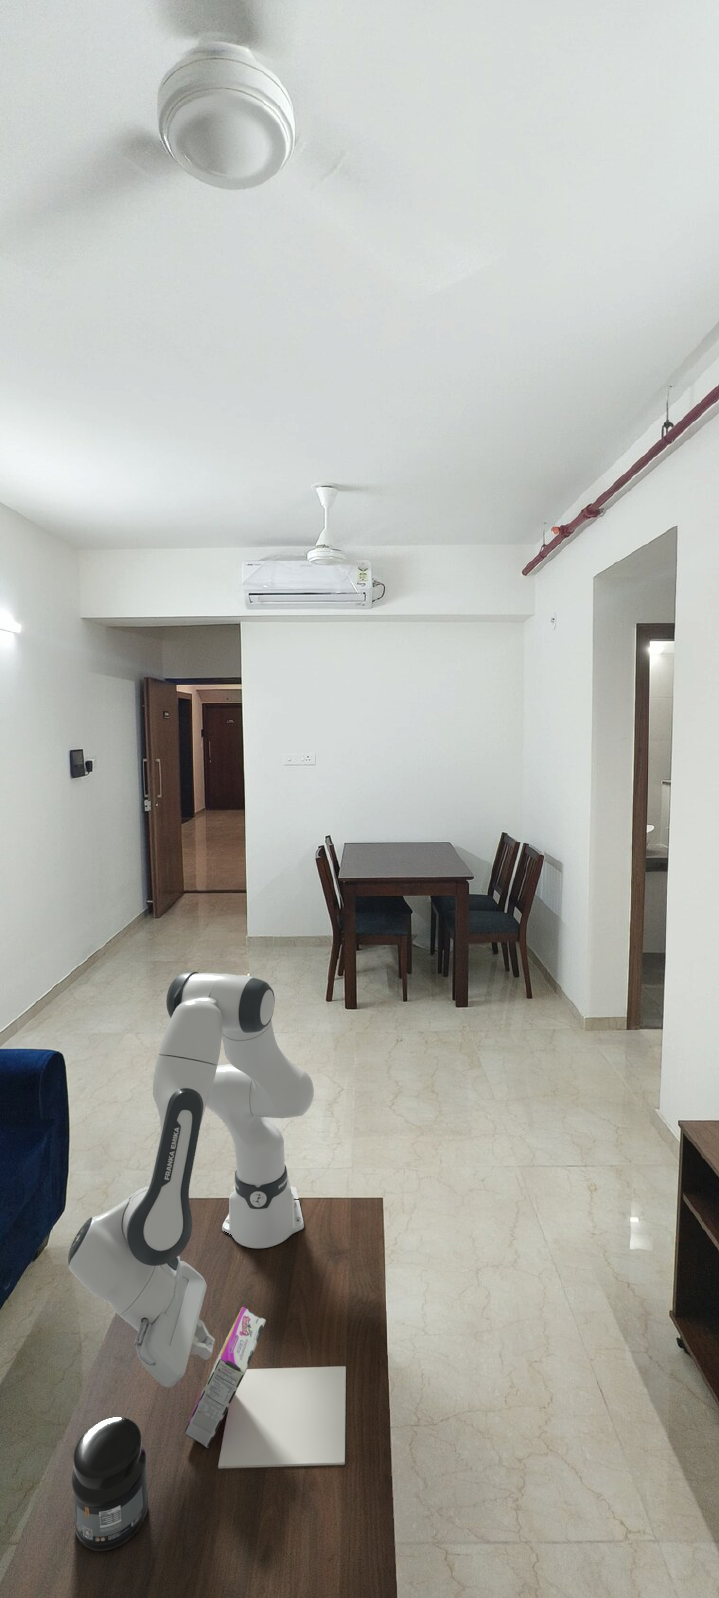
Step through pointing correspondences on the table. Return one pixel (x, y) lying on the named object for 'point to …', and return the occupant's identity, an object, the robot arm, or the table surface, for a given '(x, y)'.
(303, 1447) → the mat
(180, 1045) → the robot arm
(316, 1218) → the table surface
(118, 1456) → the supplement container
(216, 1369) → the candy bar box
